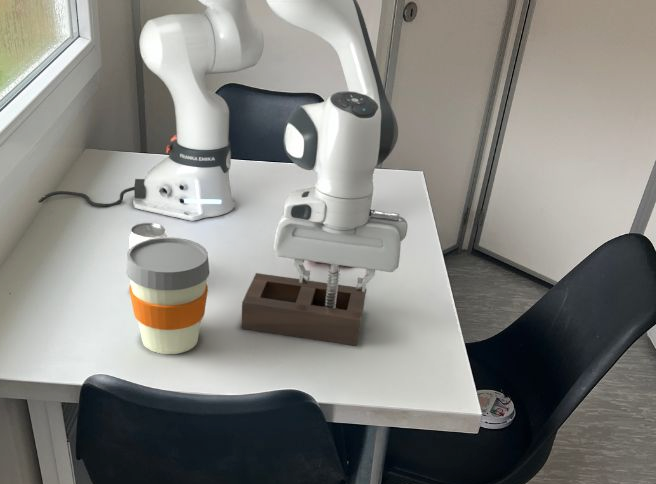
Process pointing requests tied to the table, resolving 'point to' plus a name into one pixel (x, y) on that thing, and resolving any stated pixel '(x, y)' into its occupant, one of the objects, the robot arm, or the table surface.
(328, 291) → the screw
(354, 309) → the holder
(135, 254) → the reusable coffee cup
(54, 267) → the table surface
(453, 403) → the table surface
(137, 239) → the can
